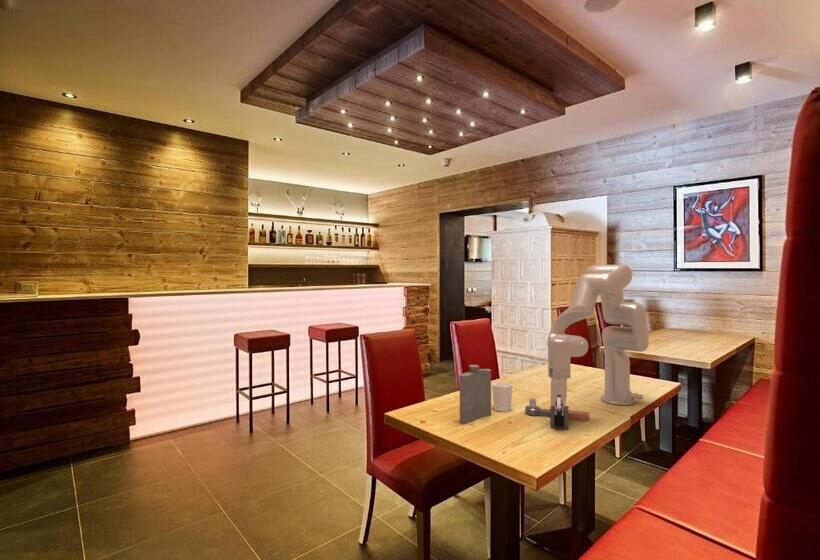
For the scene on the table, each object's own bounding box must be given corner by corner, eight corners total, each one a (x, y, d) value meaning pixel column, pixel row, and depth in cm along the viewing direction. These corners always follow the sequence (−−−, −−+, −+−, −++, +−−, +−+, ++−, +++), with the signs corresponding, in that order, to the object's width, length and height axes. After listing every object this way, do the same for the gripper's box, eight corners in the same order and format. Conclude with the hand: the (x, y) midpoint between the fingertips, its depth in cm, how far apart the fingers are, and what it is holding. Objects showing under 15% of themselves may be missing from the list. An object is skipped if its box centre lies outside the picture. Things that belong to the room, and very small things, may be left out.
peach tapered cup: (488, 407, 170) (488, 383, 170) (505, 405, 173) (504, 381, 173) (499, 413, 163) (499, 387, 162) (516, 410, 165) (516, 385, 165)
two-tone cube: (568, 424, 150) (568, 406, 150) (568, 429, 145) (568, 411, 145) (551, 422, 152) (550, 404, 152) (550, 427, 147) (550, 409, 147)
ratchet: (588, 417, 157) (588, 402, 157) (589, 422, 152) (589, 407, 152) (526, 411, 165) (525, 396, 165) (524, 415, 160) (524, 400, 160)
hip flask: (464, 424, 151) (463, 369, 151) (456, 421, 154) (455, 367, 154) (493, 414, 161) (492, 363, 161) (484, 412, 164) (484, 361, 164)
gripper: (549, 366, 158) (549, 414, 158) (546, 377, 142) (547, 430, 142) (570, 368, 155) (570, 416, 155) (570, 379, 139) (570, 433, 139)
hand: (559, 422), depth 149 cm, fingers closed on two-tone cube, 6 cm apart
